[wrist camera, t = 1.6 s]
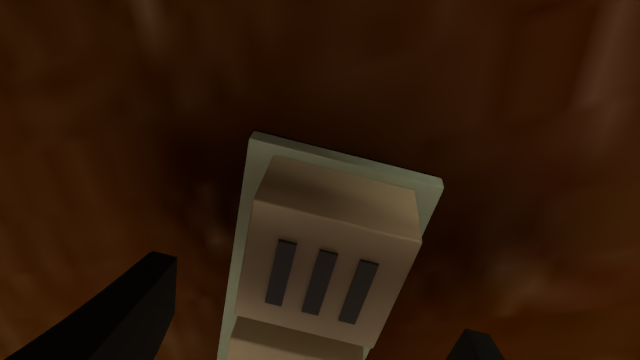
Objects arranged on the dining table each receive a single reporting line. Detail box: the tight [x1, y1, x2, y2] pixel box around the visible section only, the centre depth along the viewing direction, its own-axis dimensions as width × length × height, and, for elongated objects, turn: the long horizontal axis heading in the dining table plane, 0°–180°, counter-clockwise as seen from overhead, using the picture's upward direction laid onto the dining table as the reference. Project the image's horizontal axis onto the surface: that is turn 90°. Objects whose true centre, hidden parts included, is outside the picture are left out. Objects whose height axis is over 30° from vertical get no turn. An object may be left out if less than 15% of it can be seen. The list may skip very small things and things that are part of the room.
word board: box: [217, 131, 444, 360], centre depth 16 cm, size 16×6×3 cm, turn 167°
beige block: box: [234, 155, 422, 348], centre depth 12 cm, size 4×4×3 cm
